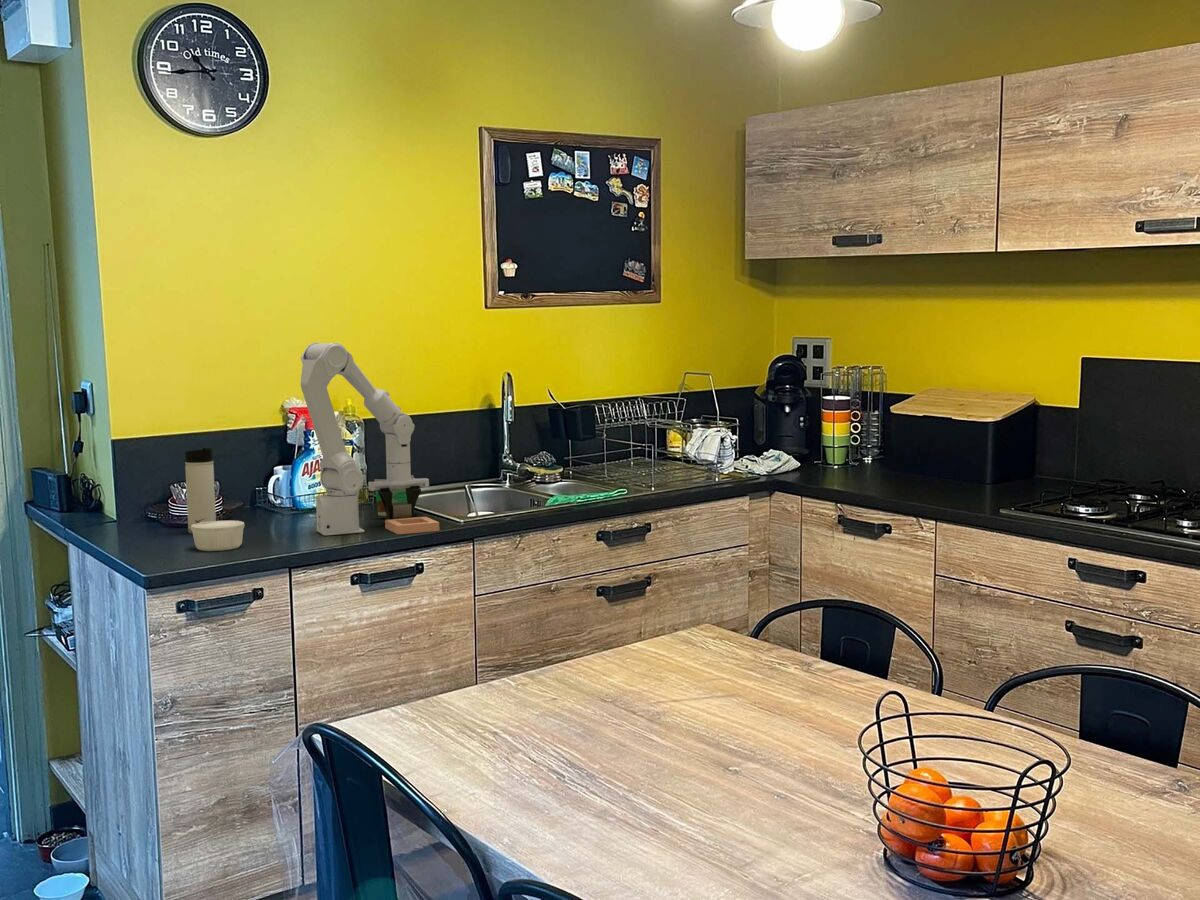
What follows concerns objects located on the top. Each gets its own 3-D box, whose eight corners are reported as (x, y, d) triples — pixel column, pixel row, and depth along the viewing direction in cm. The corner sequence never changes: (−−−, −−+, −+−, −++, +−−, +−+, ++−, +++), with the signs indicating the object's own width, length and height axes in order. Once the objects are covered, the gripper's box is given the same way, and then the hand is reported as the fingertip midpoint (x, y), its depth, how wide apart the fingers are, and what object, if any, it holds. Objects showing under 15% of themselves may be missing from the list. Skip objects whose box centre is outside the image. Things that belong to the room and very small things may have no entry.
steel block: (393, 526, 284) (393, 505, 284) (388, 523, 288) (387, 503, 288) (411, 524, 286) (411, 504, 286) (406, 522, 291) (405, 501, 290)
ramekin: (212, 542, 266) (211, 519, 265) (255, 544, 262) (254, 520, 262) (180, 551, 255) (179, 526, 254) (225, 553, 252) (224, 528, 251)
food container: (391, 521, 292) (389, 480, 291) (374, 519, 296) (372, 479, 295) (427, 514, 302) (426, 475, 301) (410, 512, 306) (409, 474, 305)
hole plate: (397, 534, 272) (397, 525, 272) (385, 528, 281) (385, 520, 281) (439, 530, 277) (439, 522, 277) (425, 524, 286) (425, 516, 286)
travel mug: (201, 535, 275) (197, 449, 273) (182, 532, 278) (178, 447, 276) (223, 531, 280) (219, 446, 278) (204, 529, 283) (200, 445, 281)
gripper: (422, 459, 293) (423, 513, 294) (364, 462, 286) (366, 518, 288) (431, 461, 287) (432, 517, 288) (372, 465, 280) (374, 522, 281)
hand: (399, 518), depth 287 cm, fingers closed on steel block, 4 cm apart
